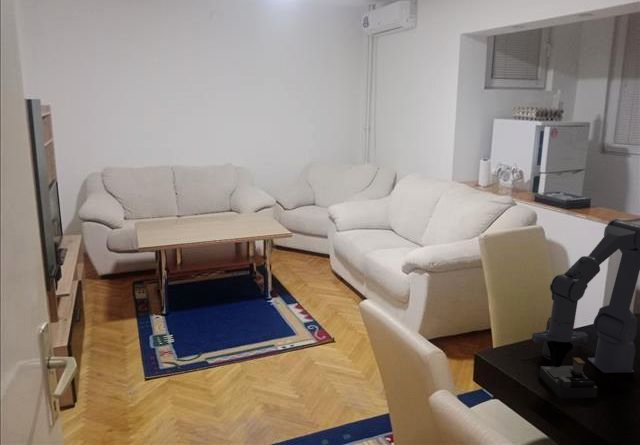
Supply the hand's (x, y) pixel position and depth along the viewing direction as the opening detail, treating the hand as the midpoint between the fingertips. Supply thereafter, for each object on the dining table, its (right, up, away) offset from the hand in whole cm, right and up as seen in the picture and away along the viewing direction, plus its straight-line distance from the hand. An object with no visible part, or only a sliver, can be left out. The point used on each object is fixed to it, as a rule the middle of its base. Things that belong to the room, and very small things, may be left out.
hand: (555, 365), depth 137 cm
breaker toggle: (+6, -2, +1) cm, 7 cm away
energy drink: (+7, -2, +17) cm, 18 cm away
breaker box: (+3, -6, +1) cm, 7 cm away
